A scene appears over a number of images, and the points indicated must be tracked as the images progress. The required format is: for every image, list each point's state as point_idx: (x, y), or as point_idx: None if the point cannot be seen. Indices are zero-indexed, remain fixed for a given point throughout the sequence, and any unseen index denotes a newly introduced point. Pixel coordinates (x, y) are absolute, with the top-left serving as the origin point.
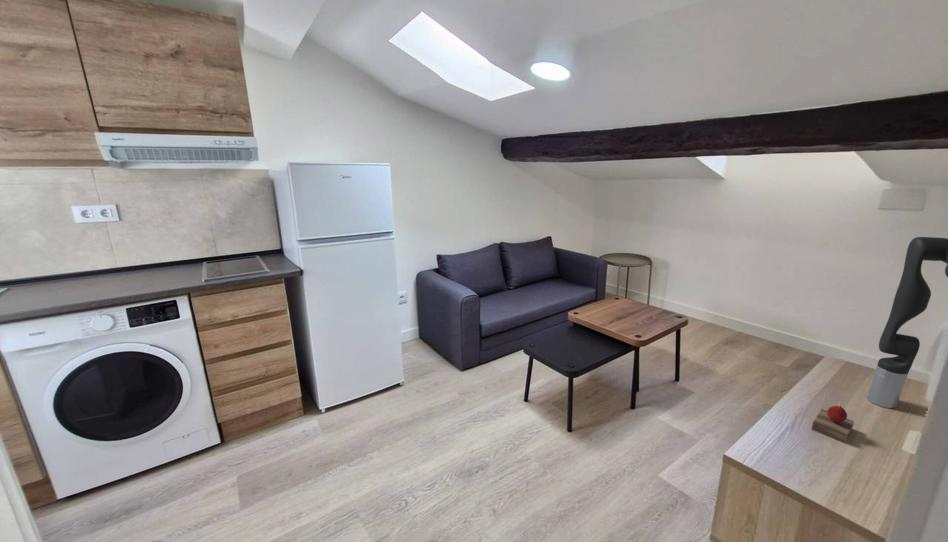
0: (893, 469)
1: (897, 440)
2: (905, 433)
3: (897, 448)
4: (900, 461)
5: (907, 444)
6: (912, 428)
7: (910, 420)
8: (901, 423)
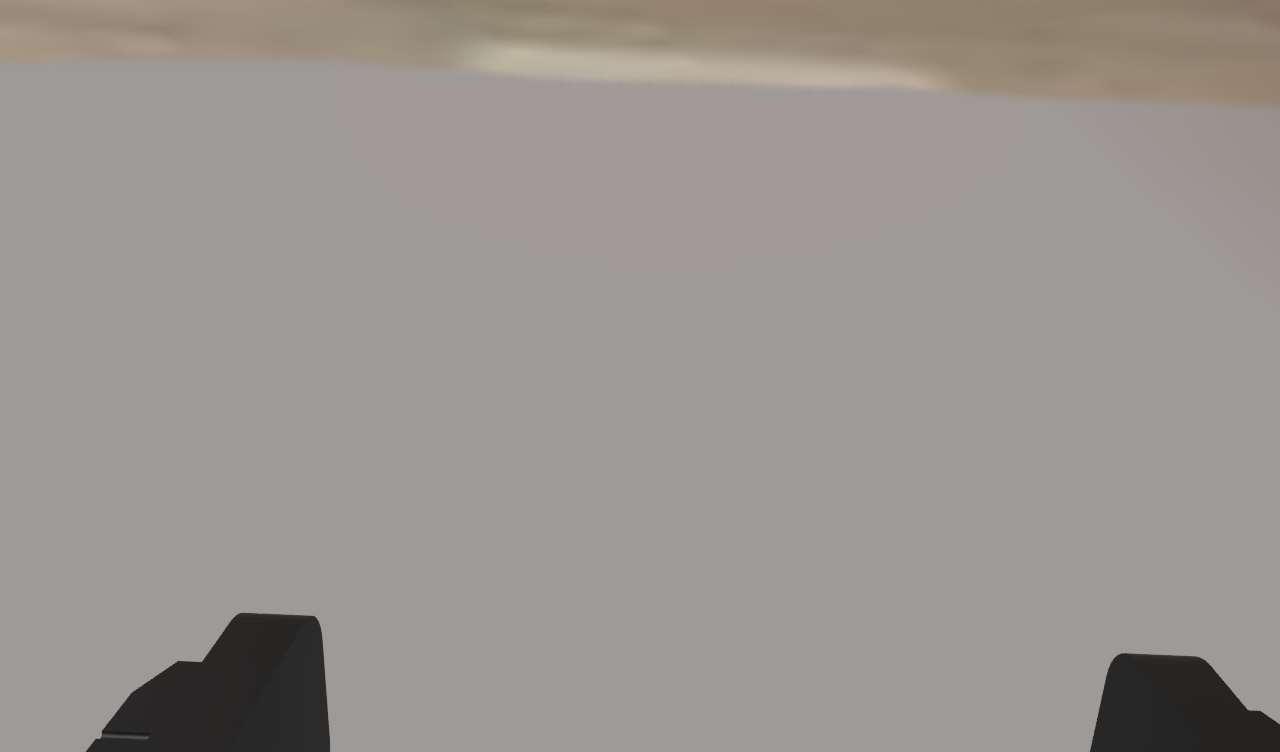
0: (30, 20)
1: (612, 2)
2: (827, 50)
3: (447, 15)
4: (227, 54)
5: (607, 79)
6: (993, 93)
7: (1171, 67)
8: (1030, 3)
